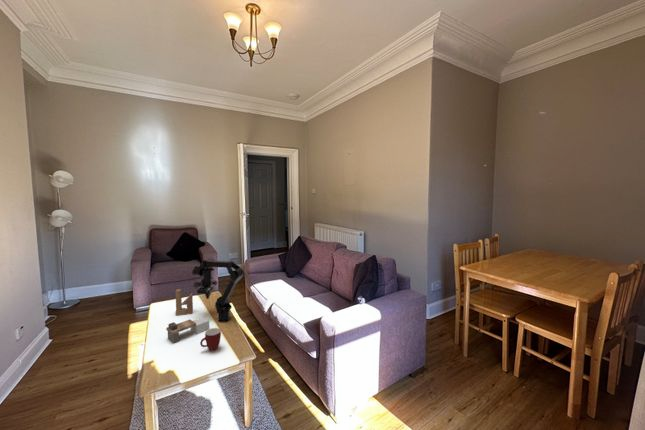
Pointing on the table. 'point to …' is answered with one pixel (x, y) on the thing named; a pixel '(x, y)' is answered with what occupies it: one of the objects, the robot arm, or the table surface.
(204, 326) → the gray rectangular block
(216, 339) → the mug
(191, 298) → the wooden block
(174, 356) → the table surface
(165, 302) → the table surface
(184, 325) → the plank
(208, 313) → the table surface
